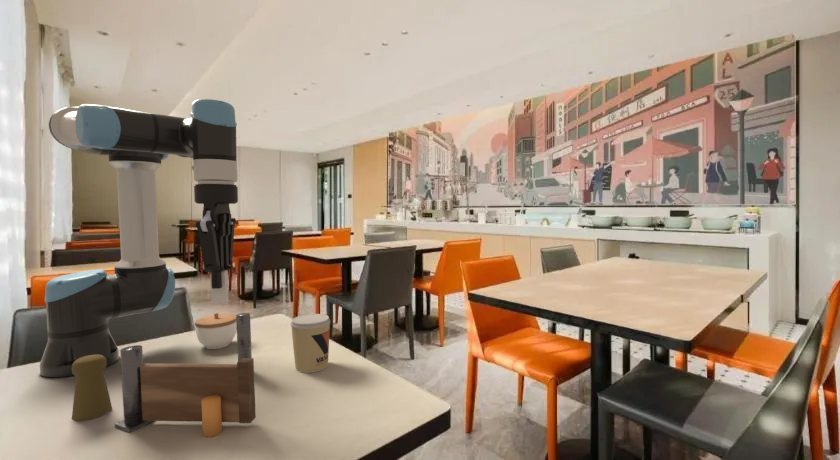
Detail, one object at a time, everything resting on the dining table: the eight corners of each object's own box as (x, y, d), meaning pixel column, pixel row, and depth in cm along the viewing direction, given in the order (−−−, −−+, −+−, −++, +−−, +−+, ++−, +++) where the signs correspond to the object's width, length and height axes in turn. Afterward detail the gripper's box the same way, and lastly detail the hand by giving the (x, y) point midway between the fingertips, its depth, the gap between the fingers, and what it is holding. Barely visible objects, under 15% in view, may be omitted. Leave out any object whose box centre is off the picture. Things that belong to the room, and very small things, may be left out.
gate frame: (114, 427, 72) (110, 350, 71) (243, 368, 98) (241, 312, 97) (129, 432, 70) (125, 354, 69) (257, 371, 96) (255, 314, 95)
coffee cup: (321, 375, 93) (319, 324, 93) (284, 372, 95) (283, 322, 94) (337, 360, 102) (336, 314, 102) (303, 358, 104) (302, 312, 104)
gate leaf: (149, 415, 74) (146, 357, 73) (255, 417, 73) (253, 358, 72) (141, 421, 72) (138, 361, 71) (250, 423, 71) (248, 362, 70)
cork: (67, 424, 73) (63, 365, 73) (77, 409, 79) (73, 354, 78) (108, 415, 76) (105, 359, 75) (115, 402, 81) (112, 349, 81)
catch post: (198, 434, 69) (197, 401, 69) (214, 426, 72) (212, 393, 72) (210, 438, 68) (209, 404, 68) (225, 429, 71) (224, 396, 70)
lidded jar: (212, 338, 121) (211, 307, 120) (245, 340, 119) (244, 308, 119) (187, 351, 110) (185, 317, 109) (223, 353, 108) (221, 319, 108)
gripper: (210, 184, 84) (214, 296, 85) (178, 181, 71) (183, 313, 72) (247, 185, 84) (250, 295, 86) (222, 181, 71) (226, 312, 73)
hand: (220, 303), depth 79 cm, fingers closed
